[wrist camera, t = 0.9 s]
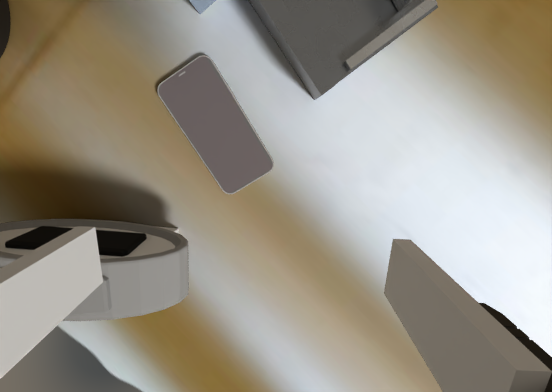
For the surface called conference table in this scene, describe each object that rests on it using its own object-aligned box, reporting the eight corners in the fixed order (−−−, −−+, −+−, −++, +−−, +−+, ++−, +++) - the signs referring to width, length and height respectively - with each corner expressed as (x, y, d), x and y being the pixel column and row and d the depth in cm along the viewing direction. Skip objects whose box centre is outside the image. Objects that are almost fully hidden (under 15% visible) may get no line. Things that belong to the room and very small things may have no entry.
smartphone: (226, 197, 35) (152, 88, 32) (228, 195, 36) (156, 89, 32) (277, 167, 34) (206, 50, 30) (277, 166, 35) (208, 52, 31)
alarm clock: (203, 223, 36) (163, 276, 24) (203, 266, 38) (165, 335, 26) (26, 210, 36) (-105, 255, 24) (33, 253, 38) (-86, 316, 26)
